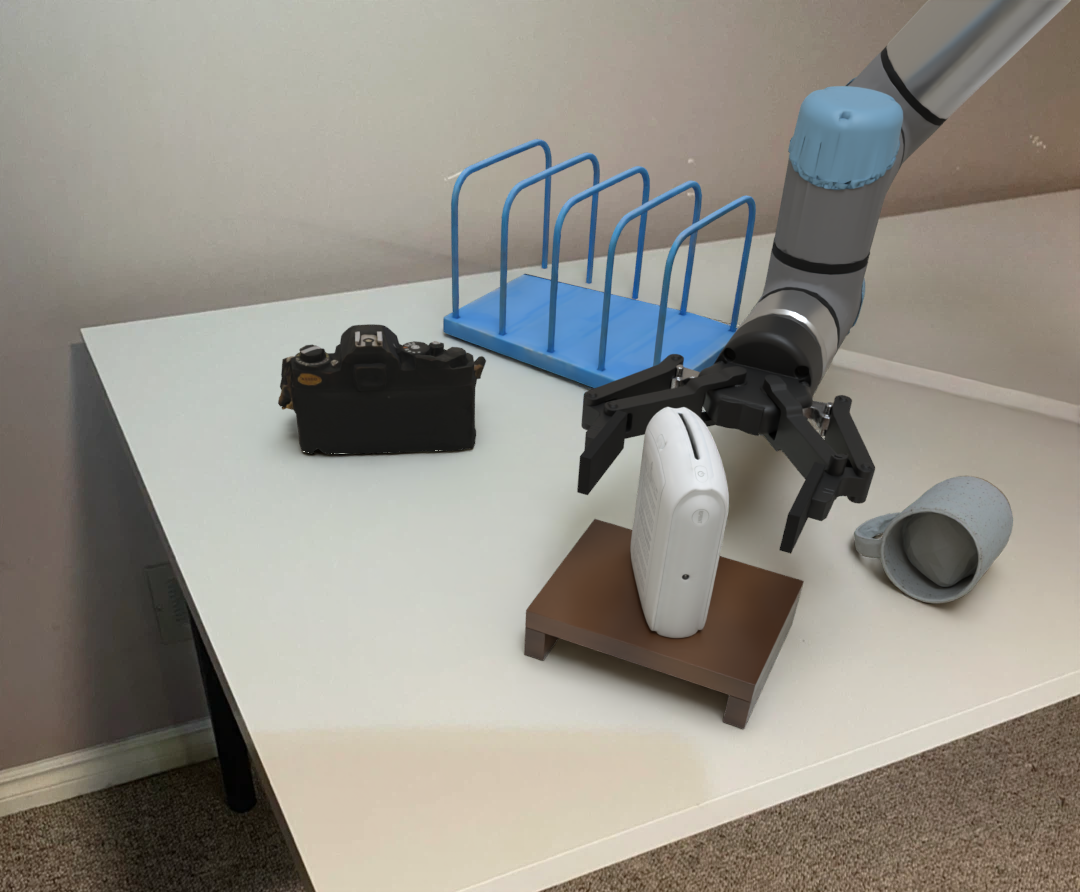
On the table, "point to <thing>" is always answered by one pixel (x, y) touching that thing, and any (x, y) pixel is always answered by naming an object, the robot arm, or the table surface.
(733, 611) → the shelf
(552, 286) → the file sorter
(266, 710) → the table surface
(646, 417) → the robot arm
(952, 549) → the ceramic mug
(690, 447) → the photo printer
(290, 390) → the film camera
